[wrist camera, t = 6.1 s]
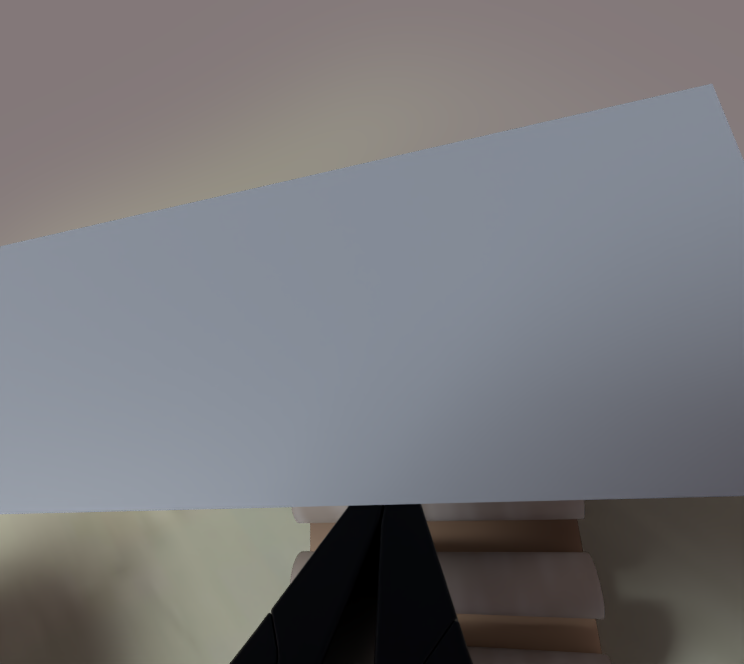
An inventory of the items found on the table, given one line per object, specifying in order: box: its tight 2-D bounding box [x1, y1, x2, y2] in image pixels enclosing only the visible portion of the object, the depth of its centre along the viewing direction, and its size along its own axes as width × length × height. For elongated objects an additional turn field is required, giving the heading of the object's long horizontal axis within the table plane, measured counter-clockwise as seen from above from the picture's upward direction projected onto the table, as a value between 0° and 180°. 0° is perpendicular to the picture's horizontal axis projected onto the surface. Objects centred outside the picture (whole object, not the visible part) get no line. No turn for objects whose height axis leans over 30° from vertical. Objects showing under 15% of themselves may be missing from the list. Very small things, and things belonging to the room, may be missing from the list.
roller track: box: [290, 500, 612, 664], centre depth 12 cm, size 11×9×5 cm
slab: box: [0, 84, 744, 514], centre depth 8 cm, size 3×8×10 cm, turn 93°
